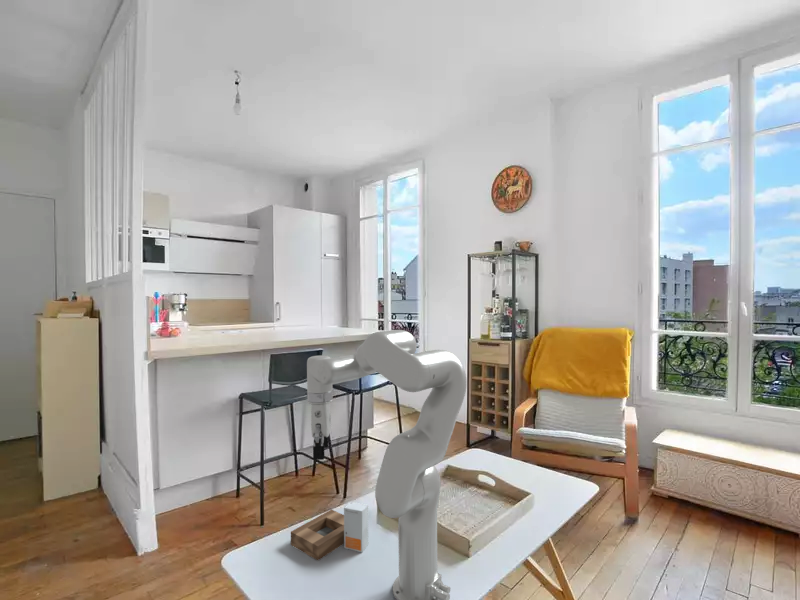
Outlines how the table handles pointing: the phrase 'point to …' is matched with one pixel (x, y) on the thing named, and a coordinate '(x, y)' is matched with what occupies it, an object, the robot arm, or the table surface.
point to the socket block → (320, 535)
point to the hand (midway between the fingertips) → (321, 453)
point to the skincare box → (356, 526)
